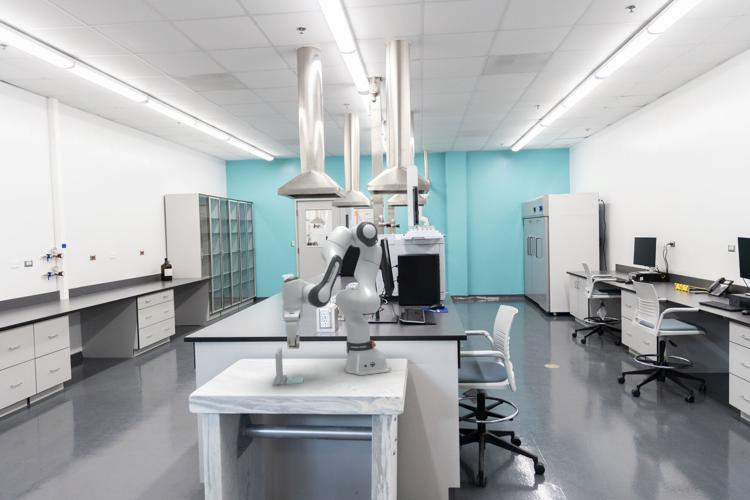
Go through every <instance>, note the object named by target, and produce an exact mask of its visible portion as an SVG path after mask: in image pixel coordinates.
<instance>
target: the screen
mask: <svg viewBox="0 0 750 500" xmlns="http://www.w3.org/2000/svg"><path fill="white" fill-rule="evenodd" d="M283 366H284V365H283V347H282V346H281V347H280V346H279V347H277V350H276V352H275V376H274V379H273V381H272V387H276V386H277V387H278V386H279V387H280V386H285V384H286V382H287V378H288V377H287V375H288V374H284V368H283Z"/></svg>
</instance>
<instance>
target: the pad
mask: <svg viewBox="0 0 750 500" xmlns="http://www.w3.org/2000/svg"><path fill="white" fill-rule="evenodd" d="M303 383H304V376H295V377H293V376H292V377H287V379H286V384H287V385H292V384H293V385H294V384H303Z"/></svg>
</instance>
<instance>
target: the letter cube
mask: <svg viewBox="0 0 750 500" xmlns="http://www.w3.org/2000/svg"><path fill="white" fill-rule="evenodd" d="M286 338H287V337H286ZM286 342H287V344H286V345H287V346H286V347H287V350H294V349H295V350H296V349H300V345H301V344H300V334H297V335H296V338H295V346H291V341H290V338H287V340H286Z"/></svg>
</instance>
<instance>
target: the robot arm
mask: <svg viewBox="0 0 750 500" xmlns="http://www.w3.org/2000/svg"><path fill="white" fill-rule="evenodd" d="M328 235H329V236H328V237H327V239H326V240H325V242H324V243H323V246H322V247H321V251H320V256H321V259H322V260H323V261H324V262H325V263H326V267H325V271H324V273H323V274H322V277H321V279H320V281H319V282H318V283H311V282H308V281H305V280H303V279H302V278H301V277H299V276H293V277H292V276H291V277H288V278H286V279H285V280H284V281H283V284H282V288H281V289H282V290H281V291H282V294H281V295H282V301H283V304H282V318H283V321H284V322H285V330H286V338H290V341H291V346H295V338H296V335H298V331H299V330H300V328H299V327H300V323H299V322H300V321H301V318H303V316H304V314H303V309H304V308H303V307H304V306H303V305H304V304H306V305H310V306H313V307H316V308H324V307H326V306H327V305H328V304H329V302H330V300H331V298H332V293H333V288H334V286H335V283H336V282H337V279H338V276H339V274H340V272H341V269H342V266H343V260H344V257H345V255H346V253H347V251H348V249H349V247H351V248H355V249H358V248H359V257H358V260H357V263H356V266H355V270H354V272H353V276H354V279H355V281H356V282H357V289H356V288H355V289H353V288H346V289H345V288H344V289H340V290H339V291H338V292H337V293H336V295H335V305H336V306H337V308H338V309H339V310H340V311H341V314H342V315H343V318H344V321H345V325H346V343H345V346H346V353H347V354H346V363H345V368H344V372H346V373H347V374H348V373H349V374H353V375H354V374H355V375H357V376H366V375H367V376H368V375H375V374H381V373H389V372H391V371H392V366H391V363H388V362H387V359H386V356H385V355H384V354H383V352H381V351H380V350H379V349H377V348H375V347H376V345H377V344H376V343H375V341H373V340H372V339H371V336H370V335H371V334H370V333H371V332H370V331H371V330H370V328H371V326H370V323H369V322H368V321H367V320H366V318H365V317H364V314H365V315H368V314H375V313H377V312H378V311H379V309H380V306H381V298H380V296H379V294H378V292H377V288H376V281H377V277H378V274H379V270H380V266H381V262H382V256H383V248H382V246H381V245H380V244H378V241H379V238H378V237H379V236H378V235H379V234H378V229H377V226H376V225H375V224H374V223H373V222H371V221H362V222H360V223H357V224H355V225H354V226H353V227H350V228H348V227H347V226H343V225H338V226H337V227H335V228H334V229H333V231H331V233H330V234H328Z"/></svg>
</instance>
